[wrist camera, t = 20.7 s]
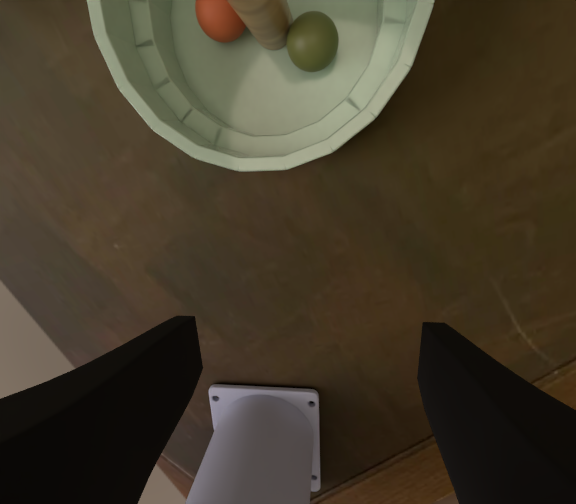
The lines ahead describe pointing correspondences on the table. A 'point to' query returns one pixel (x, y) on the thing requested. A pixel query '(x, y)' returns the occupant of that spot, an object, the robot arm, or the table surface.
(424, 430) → the table surface
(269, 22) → the stir stick
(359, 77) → the bowl
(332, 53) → the bead olive
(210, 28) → the bead terracotta
